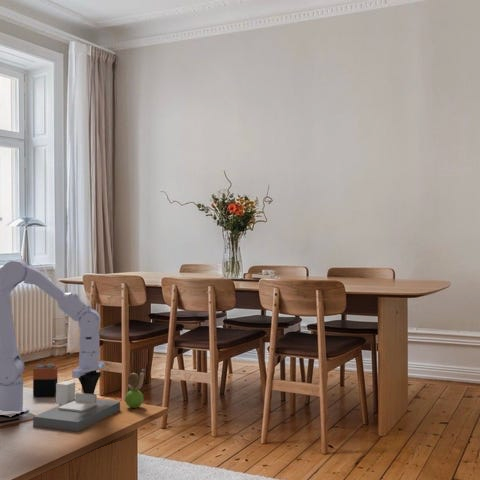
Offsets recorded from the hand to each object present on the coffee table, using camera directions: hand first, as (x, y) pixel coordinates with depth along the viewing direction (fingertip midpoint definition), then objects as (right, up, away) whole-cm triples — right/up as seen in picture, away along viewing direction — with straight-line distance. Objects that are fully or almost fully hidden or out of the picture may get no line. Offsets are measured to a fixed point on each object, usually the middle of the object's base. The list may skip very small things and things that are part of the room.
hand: (88, 397), depth 186 cm
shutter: (-2, -1, -5) cm, 6 cm away
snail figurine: (+13, -4, +4) cm, 14 cm away
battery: (-18, -4, +18) cm, 26 cm away
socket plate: (-1, -4, -7) cm, 8 cm away
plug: (-8, -4, +6) cm, 11 cm away
